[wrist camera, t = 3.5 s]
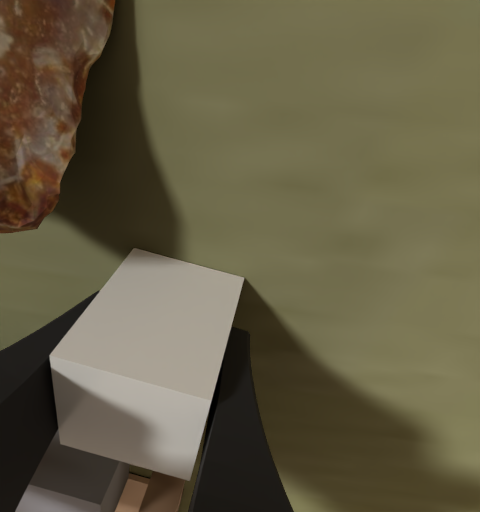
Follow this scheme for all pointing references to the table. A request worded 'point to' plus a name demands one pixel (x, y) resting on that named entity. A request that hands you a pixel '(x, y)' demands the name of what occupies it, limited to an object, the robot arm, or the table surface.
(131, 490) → the frame
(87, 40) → the decorative stone
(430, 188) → the table surface
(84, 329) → the stone block
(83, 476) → the trapdoor
